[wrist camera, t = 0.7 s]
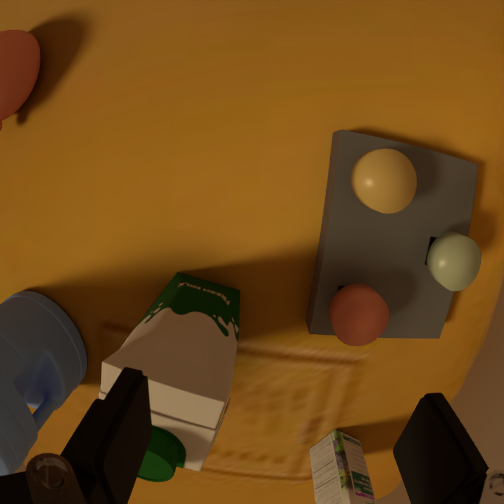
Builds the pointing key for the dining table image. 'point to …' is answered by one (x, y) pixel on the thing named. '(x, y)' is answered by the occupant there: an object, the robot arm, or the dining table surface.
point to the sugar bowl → (17, 69)
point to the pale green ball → (454, 260)
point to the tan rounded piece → (384, 180)
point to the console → (390, 237)
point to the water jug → (34, 370)
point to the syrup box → (340, 471)
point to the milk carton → (182, 370)
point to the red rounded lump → (358, 314)
